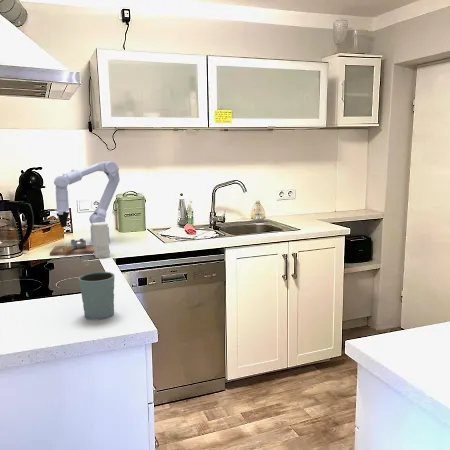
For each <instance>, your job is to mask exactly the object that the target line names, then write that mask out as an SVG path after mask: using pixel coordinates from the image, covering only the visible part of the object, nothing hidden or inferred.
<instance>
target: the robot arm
mask: <svg viewBox="0 0 450 450" xmlns="http://www.w3.org/2000/svg"><path fill="white" fill-rule="evenodd" d="M119 169H120V168H119V166H118V164H117V163H116V161H113V160H104V161H100V162H97V163H94V164H92V165H90V166H88V167H86V168H83V169H81V170H79V169H74V168H73V169H71V170H70V171H69V172H67V173H62V175H58V176H56V177H55V178H54V181H53V183H54V185H55V200H56V201H55V203H56V205H55V206H56V208H54V209H53V211H56V212H57V213H56V216H57V218H58V220H59V223H60V226H61V228H66V227H67V224H68V219H69V215H70V212H69V211H70V208H69V206H70V205H69V192H68V191H69V190H68V186H69V185H72V184H75V183H78V182H80V181H82V180H83V179H82V178H83V177H86V176H88V175H90V174H93V173H96V172H103V173H104V174H106V177H107V179H108V181H107V184H106V187H105V189H104V191H103V194H102V195H101V198H100V199H99V202H98V205H97V207H96V208H95V210H94V211H93V212H92V214H91V215H90V216H89V223H90V224H91V225H90V240H91V241H90V243H89V245H94V244H93V231H92V223H98V222H106V217H107V211H108V209H109V206H110V204H111V202H112V199H113V197H114V195H115V192H116V191H117V188H118V185H119V183H120V180H121V179H120V172H119ZM109 227H110V226H108V237H109V243H110V242H111V241H110V240H111V237H110V228H109Z"/></svg>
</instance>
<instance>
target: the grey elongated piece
mask: <svg viewBox="0 0 450 450" xmlns="http://www.w3.org/2000/svg"><path fill="white" fill-rule="evenodd" d="M86 245H87V241H86V240H85V239H84V238H79V239H77V240H76V239H73V238H72V239H71V240H70V244H69V245H63V246H64V247H62V252H69V251H70V250H73V249H83V248H86Z"/></svg>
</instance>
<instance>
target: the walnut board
mask: <svg viewBox="0 0 450 450" xmlns="http://www.w3.org/2000/svg"><path fill="white" fill-rule="evenodd" d="M64 246H65V245H55V246H54V247H53V248H52V249H51V251H50V252H49V256H51V257H52V256H53V257H57V256H75V255H77V256H78V255H79V256H80V255H94V254H93V253H94V245H90V244H86V248H83V249H73V250H70V251H69V252H62V247H64Z"/></svg>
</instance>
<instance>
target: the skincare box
mask: <svg viewBox="0 0 450 450" xmlns="http://www.w3.org/2000/svg"><path fill="white" fill-rule="evenodd" d="M91 225H92V231H93V244H94V254H93V255H94V257H95V259H102V258H103V259H105V258H110V257H111V255H110V253H111V252H110V242H109V237H110V236H109V237H108V227H109V226H108V225H109V224H108V223H107V222H106V221H105V222H98V223H92V224H91Z"/></svg>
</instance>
